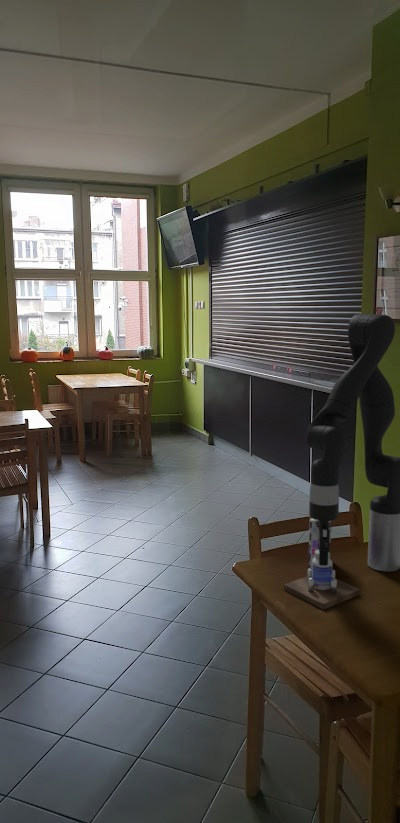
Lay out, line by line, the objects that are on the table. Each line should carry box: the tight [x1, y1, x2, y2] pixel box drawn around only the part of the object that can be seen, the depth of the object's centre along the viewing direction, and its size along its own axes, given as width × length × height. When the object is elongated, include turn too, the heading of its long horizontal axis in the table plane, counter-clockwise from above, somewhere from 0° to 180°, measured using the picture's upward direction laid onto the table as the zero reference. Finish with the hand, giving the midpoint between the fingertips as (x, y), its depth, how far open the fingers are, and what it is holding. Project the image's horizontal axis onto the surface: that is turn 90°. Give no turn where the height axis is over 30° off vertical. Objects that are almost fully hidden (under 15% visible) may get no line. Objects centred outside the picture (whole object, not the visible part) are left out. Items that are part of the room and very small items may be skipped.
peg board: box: [283, 575, 360, 611], centre depth 160 cm, size 14×14×2 cm
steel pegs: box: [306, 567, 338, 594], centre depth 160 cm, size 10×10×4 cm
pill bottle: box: [312, 549, 333, 590], centre depth 160 cm, size 5×5×10 cm
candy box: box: [308, 516, 331, 568], centre depth 176 cm, size 14×6×16 cm, turn 168°
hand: (322, 558), depth 159 cm, fingers open, 8 cm apart
